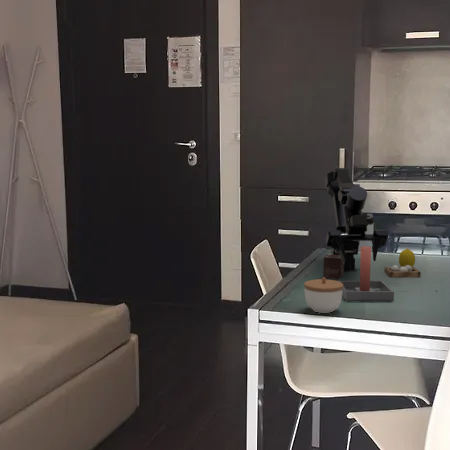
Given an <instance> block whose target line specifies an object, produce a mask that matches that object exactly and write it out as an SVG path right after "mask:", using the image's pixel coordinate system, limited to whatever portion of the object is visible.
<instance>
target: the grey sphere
mask: <svg viewBox="0 0 450 450" xmlns="http://www.w3.org/2000/svg"><path fill="white" fill-rule="evenodd" d="M390 267H391V268H390V270H391V271H393V272H399V267H400V266H398V265H396V264H393V265H392V266H390Z"/></svg>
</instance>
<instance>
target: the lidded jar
mask: <svg viewBox="0 0 450 450" xmlns="http://www.w3.org/2000/svg"><path fill="white" fill-rule="evenodd" d="M339 281H340V280H336V279H326V278H324V277H322V278H321V279H317V278H316V279H311V280H310V279H309V280H306V281H305V282H304V284H303V285H304V286H303V287H304V299H305V303H306V304H307V306H308V307H309V308H310V309H311V311H312V310H313V311H315V312H322V313H327V312H333V311H334V312H335V310H337V309H338V308H339V306H340V304H341V303H342V300H343V298H342V295H343V283H341V282H339ZM313 311H312V312H313ZM315 312H314V313H315ZM334 312H333V313H334Z"/></svg>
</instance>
